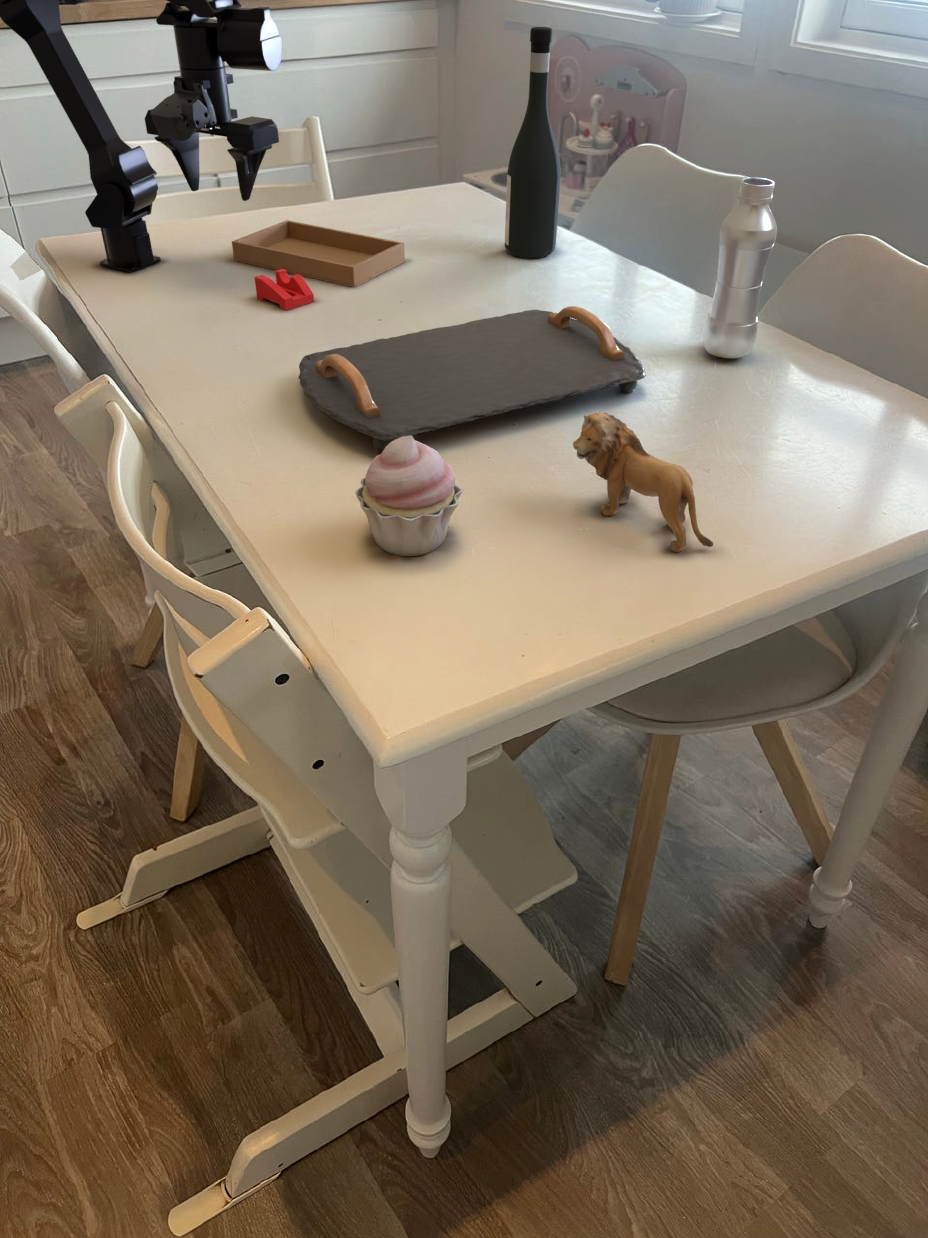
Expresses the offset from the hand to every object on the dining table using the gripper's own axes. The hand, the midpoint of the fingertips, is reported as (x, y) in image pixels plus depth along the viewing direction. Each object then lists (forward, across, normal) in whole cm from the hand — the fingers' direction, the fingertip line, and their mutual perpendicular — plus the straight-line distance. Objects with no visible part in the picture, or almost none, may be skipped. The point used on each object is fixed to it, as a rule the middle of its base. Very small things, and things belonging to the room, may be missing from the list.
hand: (220, 195), depth 132 cm
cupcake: (+11, +60, -45) cm, 76 cm away
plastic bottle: (+11, +71, +10) cm, 73 cm away
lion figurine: (+11, +76, -32) cm, 83 cm away
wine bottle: (+11, +32, +33) cm, 47 cm away
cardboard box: (+11, +7, +12) cm, 18 cm away
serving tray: (+11, +49, -15) cm, 52 cm away
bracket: (+11, +13, -4) cm, 18 cm away
